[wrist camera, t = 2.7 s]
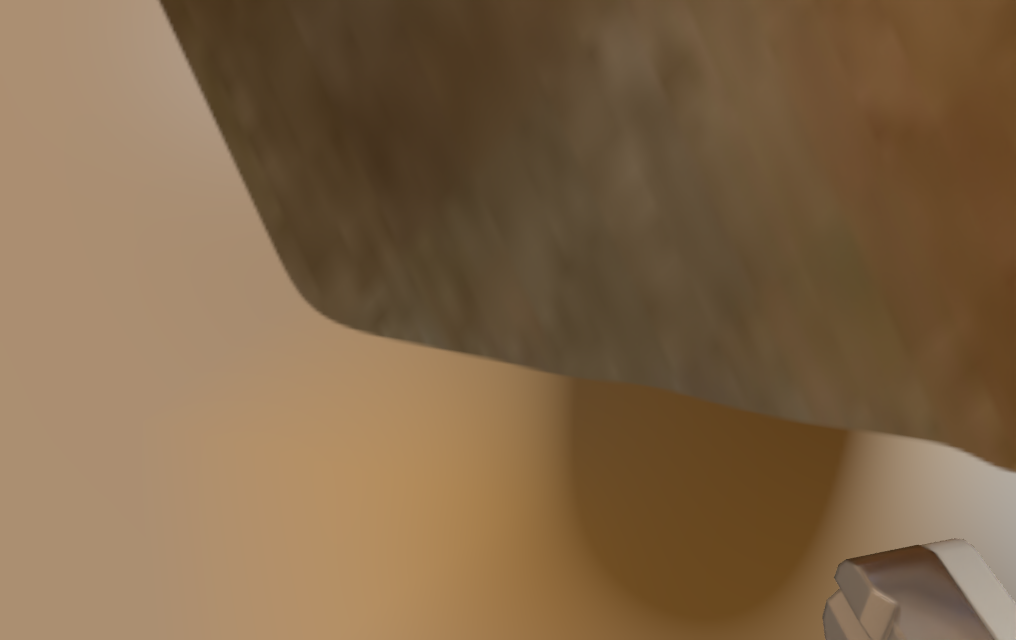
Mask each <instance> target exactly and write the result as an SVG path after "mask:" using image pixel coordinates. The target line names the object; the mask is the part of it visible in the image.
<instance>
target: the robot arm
mask: <svg viewBox="0 0 1016 640" xmlns="http://www.w3.org/2000/svg"><path fill="white" fill-rule="evenodd" d="M834 578H835V580H836V582H837V584H838V585H839V587H840V589H838V590H837V591H836V592H835V593H834V594H833V595H832V596H831V597H829V598H828V599H827V602H826V605H825V609H824V613H823V625H824V633H825V639H826V640H1016V603H1015V601H1014V600H1013V598H1012V597H1011V596H1010V594H1009V593H1008V592H1007V591H1006V589H1005V588H1004V586H1003V585H1002V584H1001V582H1000V581H999V580H998V578H997V577H996V576H995V575H994V573H993V572H992V570H991V569H990V568H989V566H988V565H987V563H986V562H985V561H984V560H983V558H982V557H981V555H980V554H979V553H978V551H977V550H976V549H975V547H974V546H973V545H971V544H970V543H968V542H967V541H965V540H964V539H950V540H945V541H940V542H934V543H929V544H924V545H914V546H910V547H905V548H900V549H895V550H890V551H885V552H880V553H875V554H870V555H866V556H861V557H856V558H851V559H846V560H845V561H843V562H842V563H840V564H839V565H838V568H837V571H836V574H835V577H834Z"/></svg>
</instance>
